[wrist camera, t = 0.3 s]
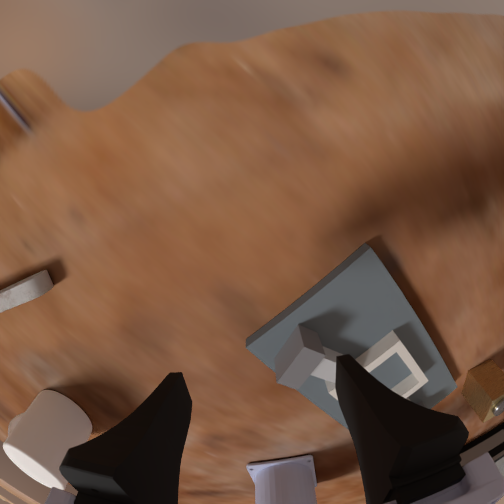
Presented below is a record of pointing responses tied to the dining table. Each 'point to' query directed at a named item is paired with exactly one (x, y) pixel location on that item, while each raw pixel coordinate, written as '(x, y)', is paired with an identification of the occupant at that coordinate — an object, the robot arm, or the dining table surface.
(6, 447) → the mug
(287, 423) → the dining table surface
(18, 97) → the dining table surface
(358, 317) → the base
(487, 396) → the block
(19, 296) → the wrench
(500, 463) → the game console
